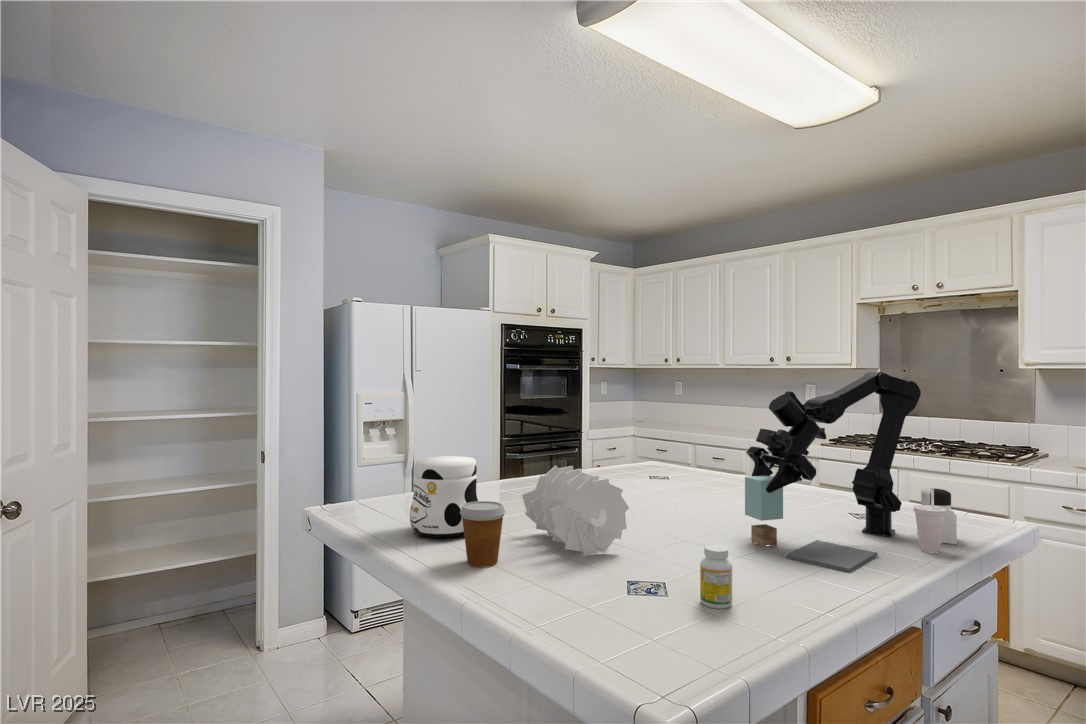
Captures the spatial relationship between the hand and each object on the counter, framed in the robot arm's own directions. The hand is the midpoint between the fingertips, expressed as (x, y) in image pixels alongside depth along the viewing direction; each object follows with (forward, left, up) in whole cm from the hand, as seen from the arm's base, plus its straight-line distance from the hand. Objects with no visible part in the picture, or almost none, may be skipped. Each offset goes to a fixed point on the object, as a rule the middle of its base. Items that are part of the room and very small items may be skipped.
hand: (758, 488), depth 141 cm
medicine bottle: (-31, +32, -13) cm, 46 cm away
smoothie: (-19, +32, -13) cm, 39 cm away
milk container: (+40, -64, -13) cm, 77 cm away
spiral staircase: (+28, -33, -13) cm, 45 cm away
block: (-1, +1, -13) cm, 13 cm away
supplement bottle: (+41, +7, -13) cm, 43 cm away
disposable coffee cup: (+51, -40, -13) cm, 66 cm away
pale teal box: (-1, +1, -7) cm, 7 cm away
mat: (0, +16, -13) cm, 20 cm away
